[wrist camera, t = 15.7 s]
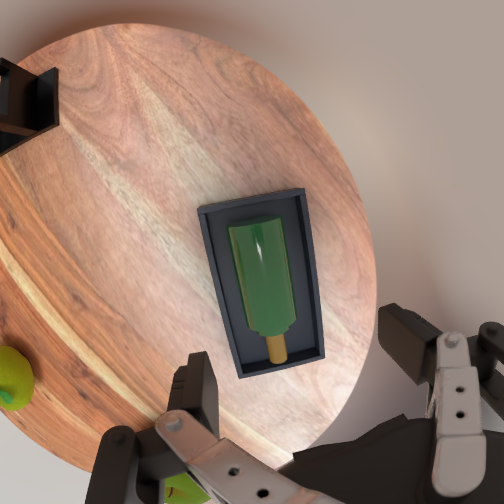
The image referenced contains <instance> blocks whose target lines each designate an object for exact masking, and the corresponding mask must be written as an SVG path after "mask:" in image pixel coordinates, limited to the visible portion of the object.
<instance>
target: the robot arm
mask: <svg viewBox="0 0 504 504" xmlns="http://www.w3.org/2000/svg"><path fill="white" fill-rule="evenodd" d="M378 339H379V343H380V345H381V347H382V348H383V349H384V350H385V351H386V352H387V353H388V354H389V355H390V356H391V357H392V359H393V360H394V361H395V362H396V363H397V364H398V365H399V366H400V367H401V368H402V369H403V370H404V371H405V373H407V375H408V376H409V377H410V378H411V379H412V380H413V381H414V382H415V383H416V384H417V385H420V384H422V383H424V382H426V381H427V382H428V383H429V385H428V389H427V401H426V410H425V418H416V419H410V420H408V419H407V418H406V417H405V415H404V414H401V415H399V416H397V417H395V418H392V419H390V420H388V421H386V422H383V423H381V424H379V425H377V426H376V427H374V428H373V429H372V430H370V431H369V432H367V433H365V434H364V435H362V436H361V437H359V438H358V439H356V440H354V441H349V442H342V443H334V444H326V445H320V446H317V447H313V448H310V449H306V450H302V451H299V452H295V453H293V458H294V461H292V462H290V463H288V464H287V465H285V466H283V467H282V468H280V469H279V470H277V471H275V470H273V469H272V468H270V467H269V466H267V465H265V464H264V463H262V462H261V461H259V460H258V459H256V458H255V457H253V456H252V455H250V454H249V453H248V452H246V451H245V450H243V449H242V448H240V447H239V446H238V445H236V444H235V443H234V442H232V441H231V440H229V439H228V438H223V439H219V406H218V385H217V381H216V377H215V375H214V372H213V369H212V366H211V363H210V360H209V357H208V354H207V352H206V351H203V352H197V353H191V354H189V358H188V364H187V365H186V366H180V367H179V368H178V370H177V371H176V372H175V374H174V377H173V383H172V387H171V392H170V397H169V402H168V407H167V412H166V413H164V414H162V415H161V416H160V417H159V418H158V419H157V421H156V423H155V427H153V428H150V429H147V430H144V431H140V432H137V433H135V432H134V431H133V430H132V429H131V428H130V427H128V426H123V425H120V426H115V427H112V428H110V429H109V430H107V431H106V432H105V433H104V435H103V436H102V439H101V442H100V446H99V449H98V453H97V456H96V460H95V463H94V467H93V471H92V475H91V479H90V483H89V487H88V491H87V495H86V500H85V504H164V499H165V479H166V478H169V477H173V476H176V475H179V474H182V473H186V474H187V475H188V476H189V477H190V478H191V479H192V480H193V481H194V482H195V483H196V484H197V485H198V486H199V487H200V488H201V489H202V490H203V491H204V492H205V493H206V494H207V495H208V496H210V497H211V498H212V499H213V500H214V501H215V502H216V503H217V504H504V433H501V432H495V431H490V430H483V429H482V415H481V401H480V396H481V397H482V398H483V399H484V400H485V401H486V402H487V403H488V404H489V405H490V406H491V407H492V408H493V410H494V411H495V412H496V413H497V414H498V415H499V416H500V417H501V418H502V419H503V420H504V376H503V375H502V374H501V373H500V372H499V371H497V370H496V369H495V368H496V365H497V362H498V360H499V361H500V362H501V363H502V364H503V365H504V326H503V325H501V324H499V323H496V322H486V323H484V324H482V325H481V326H480V328H479V333H478V335H476V336H472V337H468V338H466V337H465V336H464V335H463V334H461V333H459V332H454V331H450V332H445V333H443V332H441V331H440V330H439V329H437V328H436V327H435V326H433V325H432V324H430V323H429V322H427V321H426V320H425V319H424V318H421V316H419V315H418V314H417V313H415V312H413V311H410V310H407V309H402V308H401V307H400V306H398V305H397V304H395V303H391V304H388V305H386V306H383V307H380V308H379V311H378Z"/></svg>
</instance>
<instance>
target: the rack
mask: <svg viewBox="0 0 504 504" xmlns="http://www.w3.org/2000/svg"><path fill="white" fill-rule="evenodd" d="M0 76H1V81H0V157H1V156H3V155H4V154H6V153H7V152H9V151H11V150H12V149H14V148H16V147H18V146H19V145H21V144H23V143H25V142H27V141H28V140H30V139H32V138H34V137H36V136H38V135H40V134H42V133H44V132H46V131H48V130H50V129H52V128H54V127H56V126H58V125H59V114H58V69H57V68H56V67H54V68H52V69H50V70H48V71H46V72H44V73H43V74H41V75H39V76H36V75H34V74H32V73H30V72H28V71H27V70H25V69H23V68H21V67H19V66H17V65H16V64H13V63H11V62H10V61H8V60H6V59H4V58H0Z"/></svg>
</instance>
